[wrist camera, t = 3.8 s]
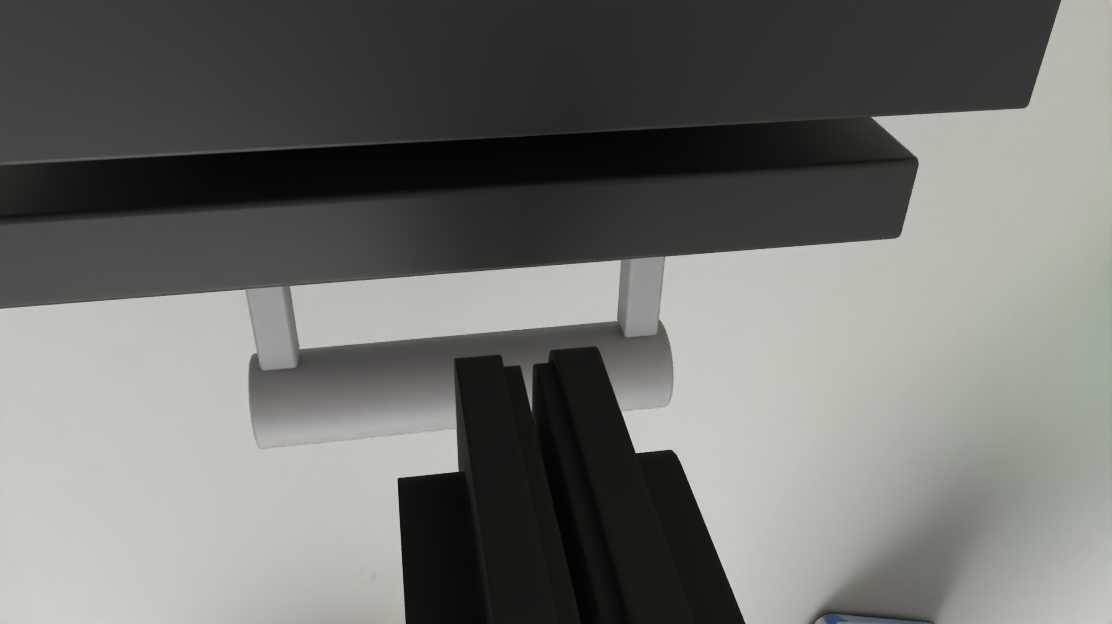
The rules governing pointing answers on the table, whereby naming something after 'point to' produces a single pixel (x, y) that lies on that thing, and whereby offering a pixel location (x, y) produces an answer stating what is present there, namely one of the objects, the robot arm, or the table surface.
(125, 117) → the drawer box
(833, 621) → the ink cartridge box
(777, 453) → the table surface
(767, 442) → the table surface
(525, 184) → the dark grey drawer
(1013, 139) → the table surface
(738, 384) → the table surface
